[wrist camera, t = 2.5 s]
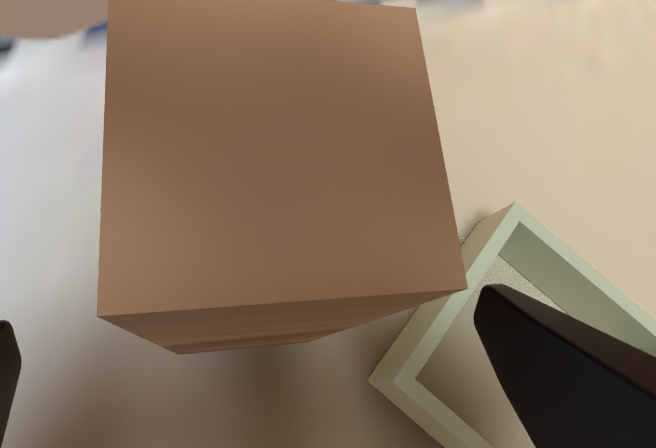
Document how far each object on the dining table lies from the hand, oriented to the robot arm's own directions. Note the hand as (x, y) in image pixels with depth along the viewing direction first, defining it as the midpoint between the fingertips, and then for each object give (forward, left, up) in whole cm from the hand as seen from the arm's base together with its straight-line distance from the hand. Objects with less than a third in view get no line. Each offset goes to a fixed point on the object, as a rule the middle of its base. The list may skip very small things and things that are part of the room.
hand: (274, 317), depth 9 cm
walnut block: (+2, +2, -10) cm, 10 cm away
